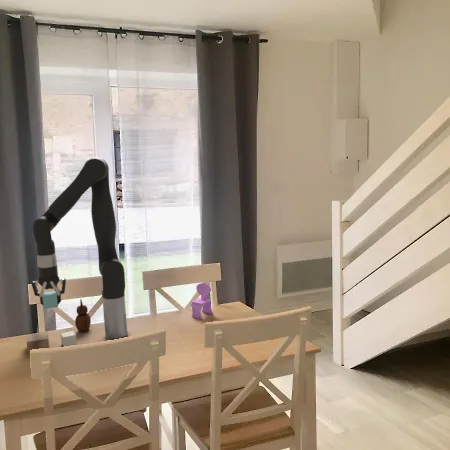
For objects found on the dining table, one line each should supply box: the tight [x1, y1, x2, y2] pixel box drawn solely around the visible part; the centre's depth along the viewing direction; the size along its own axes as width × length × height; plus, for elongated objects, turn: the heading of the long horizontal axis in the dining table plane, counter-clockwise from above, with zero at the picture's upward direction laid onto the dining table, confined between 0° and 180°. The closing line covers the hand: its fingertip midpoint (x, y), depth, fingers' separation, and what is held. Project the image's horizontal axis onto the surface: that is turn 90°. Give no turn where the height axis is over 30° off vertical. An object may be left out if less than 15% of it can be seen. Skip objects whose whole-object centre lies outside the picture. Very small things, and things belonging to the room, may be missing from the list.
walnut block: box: [26, 331, 50, 354], centre depth 211 cm, size 8×8×5 cm
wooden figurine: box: [74, 298, 92, 333], centre depth 228 cm, size 7×6×15 cm
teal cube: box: [42, 290, 60, 309], centre depth 217 cm, size 6×6×6 cm
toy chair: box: [190, 282, 214, 320], centre depth 242 cm, size 8×9×15 cm
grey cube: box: [60, 330, 78, 347], centre depth 213 cm, size 5×5×5 cm
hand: (51, 304), depth 218 cm, fingers closed on teal cube, 5 cm apart
